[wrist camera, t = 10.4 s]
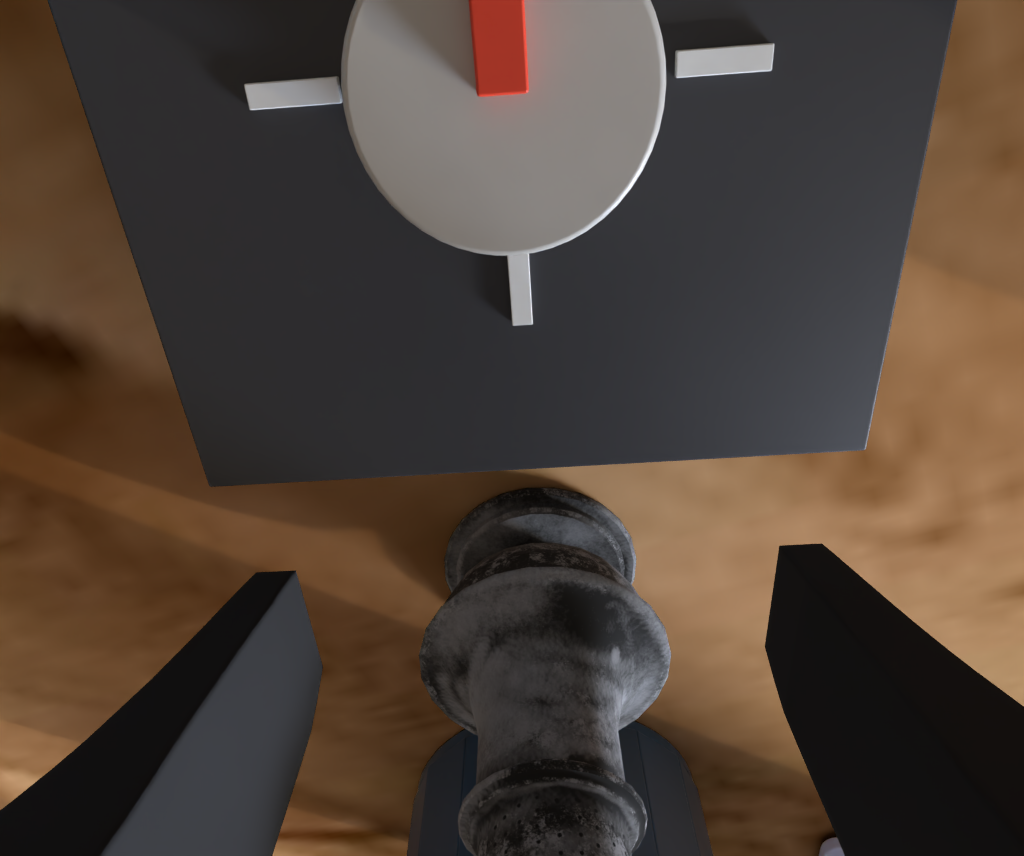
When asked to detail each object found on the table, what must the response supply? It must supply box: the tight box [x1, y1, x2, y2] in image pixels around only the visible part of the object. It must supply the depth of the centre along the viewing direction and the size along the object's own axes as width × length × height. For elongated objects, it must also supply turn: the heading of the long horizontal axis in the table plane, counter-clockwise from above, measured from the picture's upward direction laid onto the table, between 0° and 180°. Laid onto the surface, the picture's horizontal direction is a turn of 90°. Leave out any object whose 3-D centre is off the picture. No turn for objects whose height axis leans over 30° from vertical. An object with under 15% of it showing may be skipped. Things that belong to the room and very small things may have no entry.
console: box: [48, 0, 957, 487], centre depth 13 cm, size 11×13×4 cm
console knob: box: [341, 0, 666, 256], centre depth 9 cm, size 4×4×4 cm
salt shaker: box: [419, 488, 671, 856], centre depth 15 cm, size 6×6×12 cm
